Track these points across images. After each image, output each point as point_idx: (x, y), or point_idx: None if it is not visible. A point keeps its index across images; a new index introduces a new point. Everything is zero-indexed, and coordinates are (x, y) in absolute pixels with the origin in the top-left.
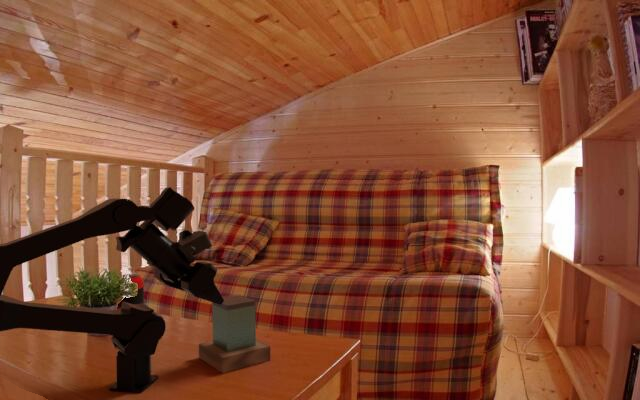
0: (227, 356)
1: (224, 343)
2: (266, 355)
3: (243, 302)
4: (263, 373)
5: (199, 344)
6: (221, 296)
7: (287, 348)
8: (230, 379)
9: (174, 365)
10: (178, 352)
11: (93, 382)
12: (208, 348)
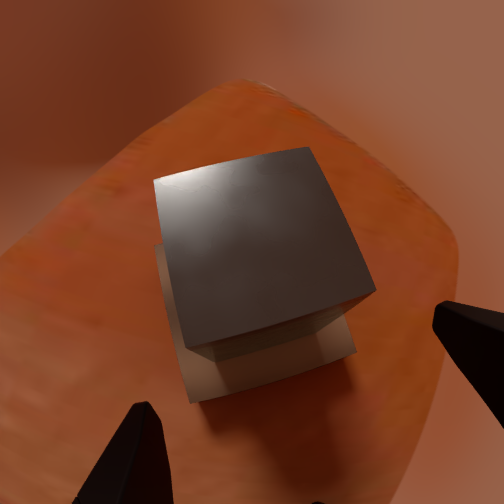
0: (349, 337)
1: (302, 335)
2: None
3: (330, 197)
4: (370, 264)
5: (195, 402)
6: (476, 308)
7: None
8: (382, 341)
9: (231, 467)
10: None
11: None
12: (252, 383)
